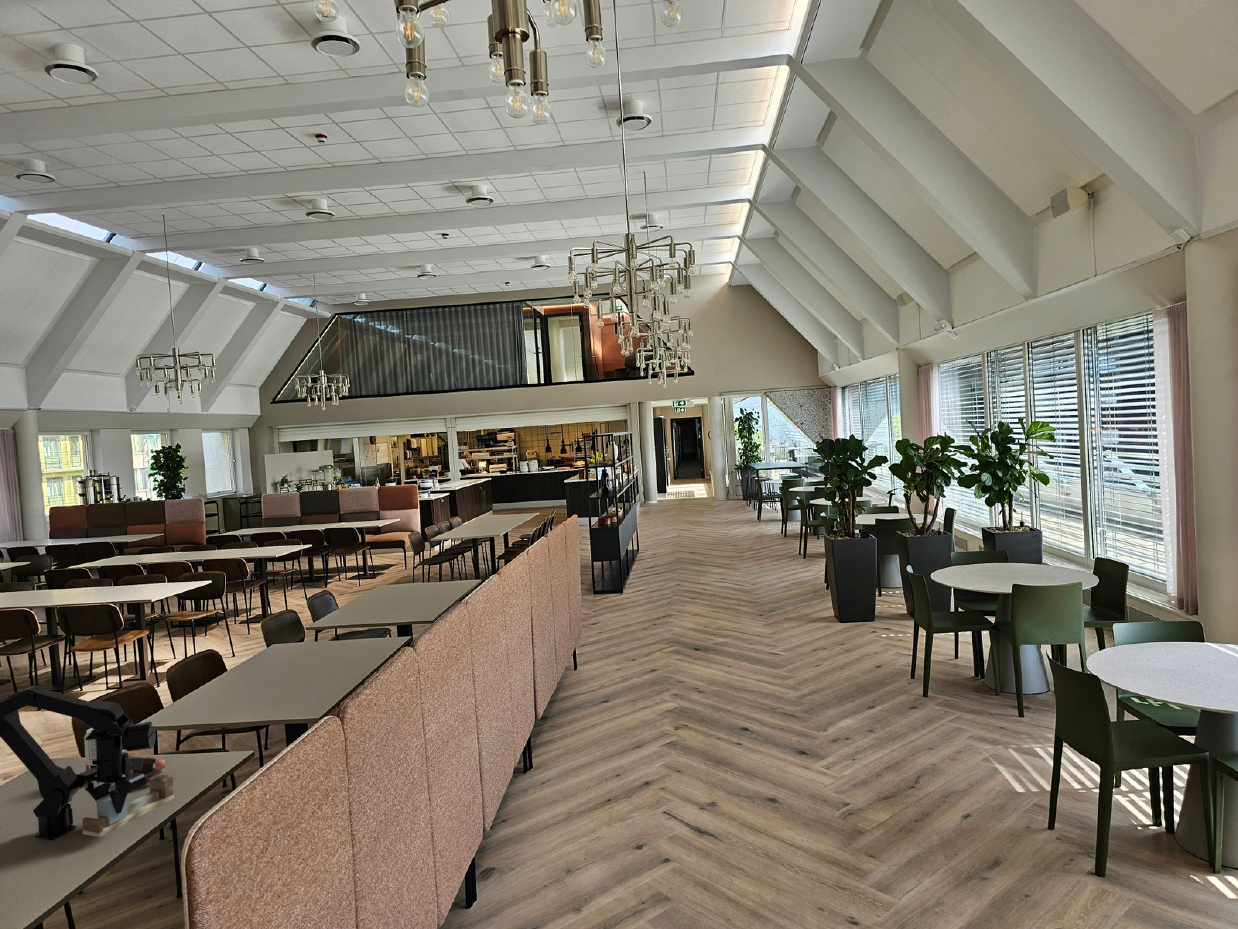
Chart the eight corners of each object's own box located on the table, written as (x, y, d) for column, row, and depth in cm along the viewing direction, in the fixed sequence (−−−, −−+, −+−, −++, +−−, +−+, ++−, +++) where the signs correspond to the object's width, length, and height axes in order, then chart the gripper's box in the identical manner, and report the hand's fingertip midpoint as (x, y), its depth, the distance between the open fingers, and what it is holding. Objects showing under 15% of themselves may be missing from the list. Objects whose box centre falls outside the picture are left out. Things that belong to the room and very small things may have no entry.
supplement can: (79, 782, 229) (77, 732, 228) (105, 771, 237) (103, 722, 236) (100, 785, 226) (97, 734, 226) (126, 773, 234) (123, 724, 234)
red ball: (159, 770, 213) (159, 763, 213) (153, 769, 214) (152, 762, 214) (167, 766, 216) (166, 759, 216) (160, 765, 216) (160, 758, 216)
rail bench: (100, 837, 194) (98, 813, 194) (82, 834, 196) (81, 810, 196) (175, 797, 216) (174, 775, 216) (159, 795, 218) (158, 773, 218)
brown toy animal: (170, 775, 233) (168, 756, 229) (151, 802, 224) (149, 783, 221) (130, 767, 232) (127, 748, 228) (110, 793, 224) (107, 775, 220)
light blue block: (110, 825, 198) (108, 802, 198) (97, 823, 199) (96, 800, 199) (127, 815, 203) (126, 793, 203) (115, 814, 204) (114, 791, 204)
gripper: (163, 744, 206) (166, 802, 206) (111, 739, 211) (114, 795, 211) (125, 761, 195) (128, 821, 195) (71, 755, 201) (74, 814, 201)
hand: (112, 812), depth 201 cm, fingers closed on light blue block, 4 cm apart
